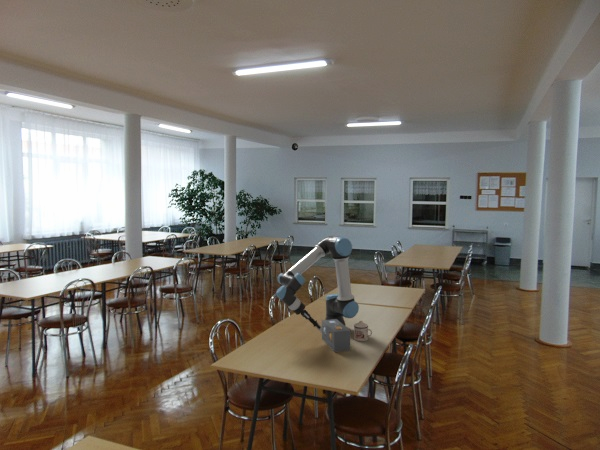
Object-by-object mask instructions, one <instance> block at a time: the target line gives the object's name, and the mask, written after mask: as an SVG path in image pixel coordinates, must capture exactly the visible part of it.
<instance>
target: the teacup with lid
mask: <svg viewBox="0 0 600 450" xmlns="http://www.w3.org/2000/svg"><path fill="white" fill-rule="evenodd" d="M368 331H369V332H370V334H369V332H368ZM368 334H369V335H368ZM372 335H373V330H372V329H370V328H369V324H368V323H365V322H363V320H359V321H358V322H356V323H354V324H353V339H354V340H355V341H357V342H366V341H368V340H369V338H370V337H371V336H372Z"/></svg>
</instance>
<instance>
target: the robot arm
mask: <svg viewBox="0 0 600 450" xmlns="http://www.w3.org/2000/svg"><path fill="white" fill-rule="evenodd" d="M352 251H353V244H352V242H351V241H350V239H349V238H346V237H344V236H334V235H329V236H326V237H325V238H323V239H321V240H320V241H318V242H317V243H316V244H315V245H314V248H312V250H311V251H310V252H308V253H307V254H305V256H303V257H302V258H301V259H300V260H299V261H297V262H296V263H295V264H294V265H293V266H291V268H289V269H288V270H287V271H286V272H281V273H279V274H278V276H277V277H276V279H277V282H278V283H279V284H280V285H281V286H280V287H279V288H277V290H276V292H275V294H276V297H277V298H279V300H280V301H281V302H282V303H284V304H285V305H286V306H287V307H288V309H290V310H291V311H293V313H294V314H296V315H298V316H299V315H301V316H302V317H303V318H305V320H307V321H309V323H311V324H312V325H313V327H314V328H316V329H317V330H318V331H319V332H320V333H321V334H322V332H323V331H324V330H325V329H324V328H323V327H322V325H321V324H320V323H319V322H318V320H315V319H314V318H313V317H312V316H311V314H310V313H309V311H307V310H306V305H305V304H304V303H303V301H302V302H301V300H300V299H299V298H298V297H297V296H296V293H297V292H298V291H299V290H300V289H301V287H302V286H303V285H304V284H305V282H306V278H305V277H304V276H303V273H305V272H306V271H307V270H308V269H309V268H310V267H311V266H313V265H314V264H315V263H317V261H319V260H320V259H321V258H323V257H326V256H327V255H330V254H331V259H332V260H333V261H334V264H335V265H334V266H335V276H336V283H337V292H338V293H331V294H327V295H326V296H325V319H324V320H331V319H337V320H338V321H340V322H341V323H342V324H343V325H344V326H346V321H345V320H344V318H345V319H353V318H355V317H356V316H357V315H358V313H359V309H360V306H359V304H358V302H357V301H355V295H354V294H352V287H351V279H350V278H351V276H350V268H349V258H350V255H351V253H352Z"/></svg>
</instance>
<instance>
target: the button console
mask: <svg viewBox="0 0 600 450" xmlns="http://www.w3.org/2000/svg"><path fill="white" fill-rule="evenodd" d="M321 327H323V328H324V327H325V328H326V334H324V331H323V332H322V333H321V339H322V340H323V342H325V344H327V346H328V347H329V348H330V349H331V350H332V351H333V353H337V352H348V351H351V329H350V328H348V327H347V326H346V325H345V326H344V325H343V324H342V323H341V322H340V321H338V320H337V319H331V320H325V319H322V320H321ZM330 333H332V341H331V340H330Z"/></svg>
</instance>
